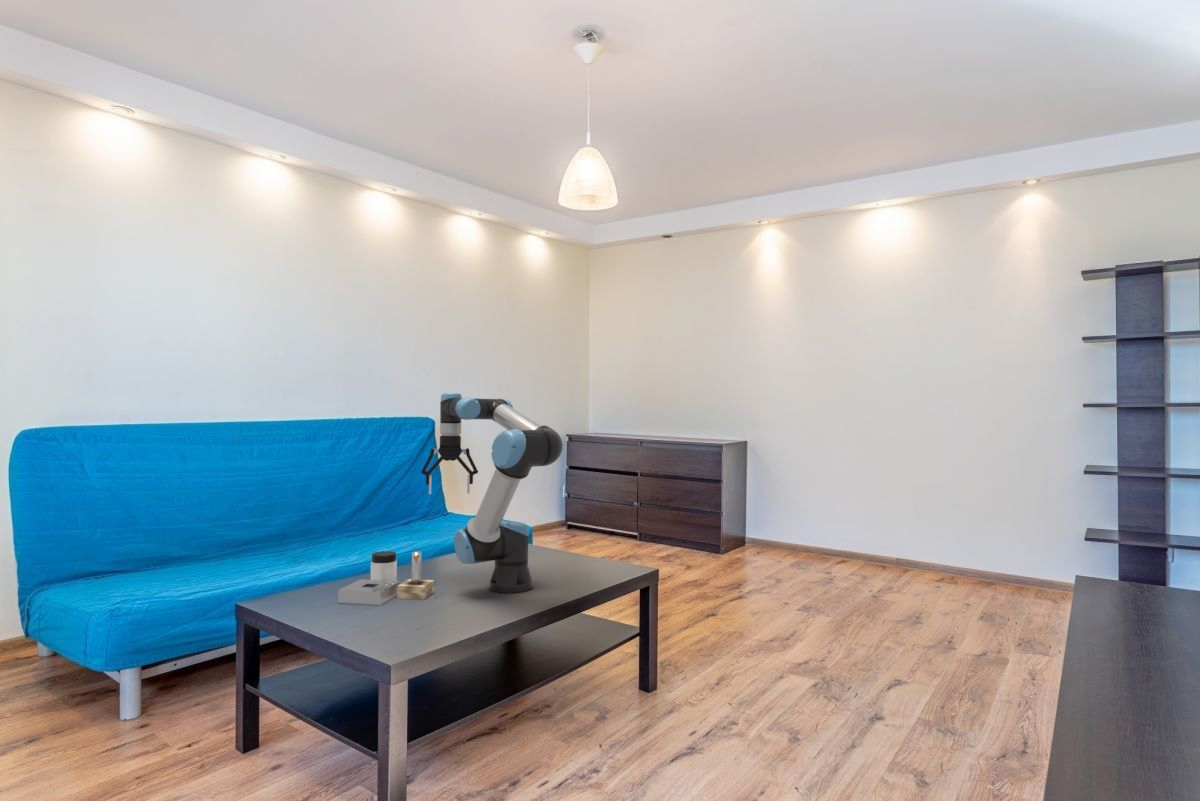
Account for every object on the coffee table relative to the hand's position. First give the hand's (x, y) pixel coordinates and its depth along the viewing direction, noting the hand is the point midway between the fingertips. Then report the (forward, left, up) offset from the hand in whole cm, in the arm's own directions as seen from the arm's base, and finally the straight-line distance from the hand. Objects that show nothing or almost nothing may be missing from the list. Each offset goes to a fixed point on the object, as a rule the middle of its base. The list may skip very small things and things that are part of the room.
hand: (449, 493), depth 245 cm
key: (+2, +24, -31) cm, 39 cm away
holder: (+2, +24, -32) cm, 40 cm away
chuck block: (+15, +30, -32) cm, 46 cm away
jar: (+18, +14, -32) cm, 39 cm away
